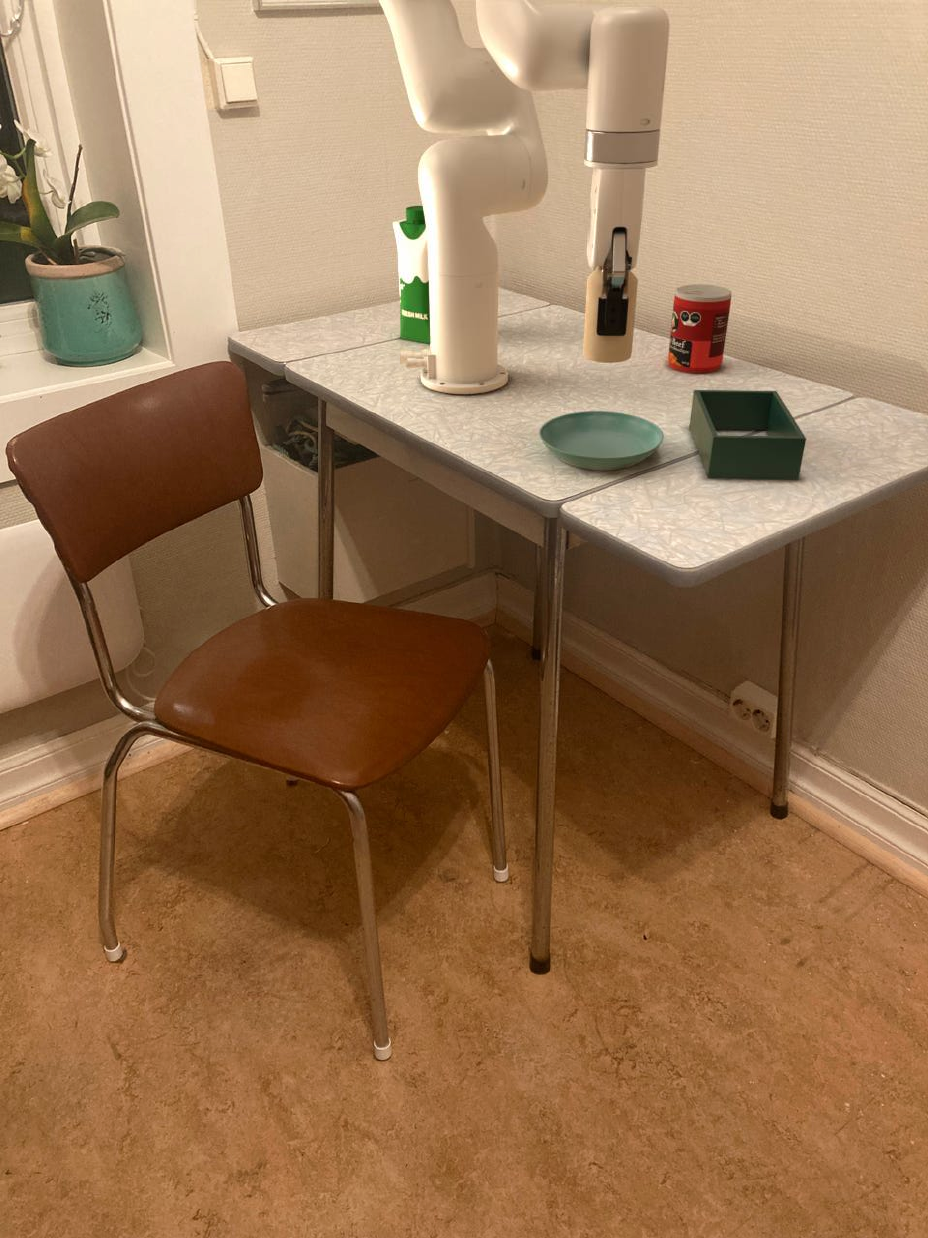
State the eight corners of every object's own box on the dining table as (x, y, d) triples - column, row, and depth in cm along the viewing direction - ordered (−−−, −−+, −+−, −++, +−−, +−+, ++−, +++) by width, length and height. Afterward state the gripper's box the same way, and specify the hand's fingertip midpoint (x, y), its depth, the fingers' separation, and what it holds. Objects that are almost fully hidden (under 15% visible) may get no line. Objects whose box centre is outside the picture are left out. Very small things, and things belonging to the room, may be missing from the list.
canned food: (661, 358, 147) (669, 284, 141) (712, 357, 147) (722, 283, 141) (675, 375, 140) (683, 298, 134) (728, 373, 141) (739, 296, 135)
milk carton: (392, 339, 157) (386, 207, 146) (423, 325, 163) (420, 198, 152) (437, 347, 153) (434, 212, 142) (467, 333, 159) (466, 203, 148)
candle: (630, 364, 107) (637, 271, 102) (580, 361, 108) (585, 269, 103) (632, 349, 112) (640, 260, 106) (585, 347, 113) (590, 258, 107)
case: (707, 478, 110) (713, 436, 107) (689, 427, 123) (693, 389, 120) (798, 479, 109) (806, 438, 106) (770, 428, 122) (776, 390, 120)
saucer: (537, 429, 123) (537, 410, 121) (653, 430, 122) (655, 410, 121) (540, 477, 110) (540, 456, 109) (669, 478, 110) (671, 457, 108)
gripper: (581, 139, 106) (572, 306, 115) (588, 160, 91) (578, 349, 101) (649, 139, 105) (635, 307, 115) (668, 159, 91) (650, 350, 101)
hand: (609, 325), depth 108 cm, fingers closed on candle, 5 cm apart
